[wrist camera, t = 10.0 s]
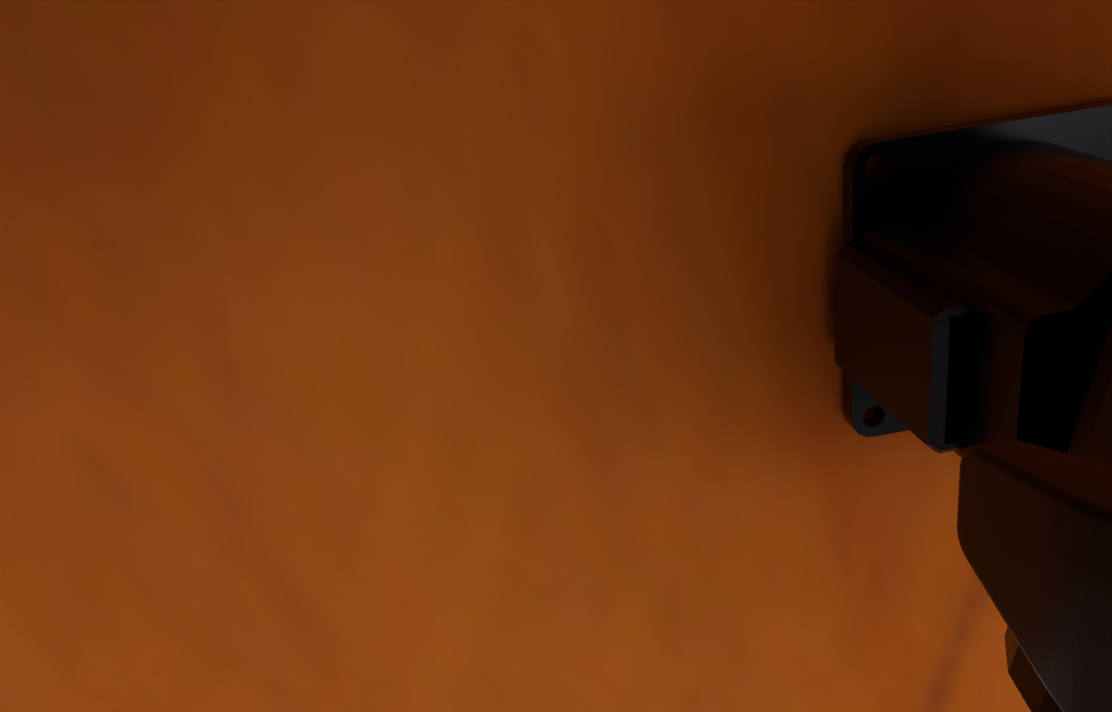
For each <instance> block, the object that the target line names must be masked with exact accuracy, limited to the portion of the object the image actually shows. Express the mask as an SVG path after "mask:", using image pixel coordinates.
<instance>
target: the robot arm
mask: <svg viewBox="0 0 1112 712" xmlns="http://www.w3.org/2000/svg"><path fill="white" fill-rule="evenodd" d="M875 155H878V156H879V160H880V163H879V167H878V169H877V170H876V171H875V172H874V174H871V175H869V176H866V174H865V170H864V169H865V165H866V162H867V161H868V160H869V159H870V157H872V156H875ZM835 361H836V364H837V365H838V366H839V367H840V368H841V369H843V370H844V414H845V418H846V421H847V422H848V423H849V424H850V426H851V427H852V428H853V429H854V430H855V431H856V432H857V433H858V434H860V435H863V436H865V437H874V436H879V435H885V434H890V433H895V432H900V431H905V430H910V431H911V432H912V433H914V434H915V435H916V436H917V437H918V438H919V439H920V440H921V441H922V442H924V443H925V444H926V445H927V446H929V447H930V448H931V449H932V450H934V451H935V452H937V453H944V452H949V451H955V452H956V453H957V454H958V455H959V456H960V457H962V459H961V464H960V476H959V496H958V515H957V532H958V539H959V542H960V546H961V548H962V551H963V553H964V555H965V557H966V559H967V560H968V562H969V564H970V565H971V567H972V568H973V570H974V572H975V573H976V575H977V577H978V578H979V580H980V582H981V583H982V585H983V586H984V588H985V590H986V591H987V593H988V595H989V596H990V598H991V600H992V601H993V603H994V605H995V606H996V608H997V609H998V611H999V613H1000V614H1001V616H1002V618H1003V619H1004V621H1005V623H1006V624H1007V626H1008V627H1007V630H1006V633H1005V645H1006V655H1007V665H1008V673H1009V675H1010V676H1011V678H1012V680H1013V681H1014V683H1015V685H1016V687H1017V688H1018V690H1019V692H1020V693H1021V695H1022V697H1023V698H1024V700H1025V702H1026V703H1027V705H1028V707H1029V708H1030V710H1031V712H1112V100H1110V101H1104V102H1098V103H1091V104H1085V105H1078V106H1072V107H1066V108H1059V109H1053V110H1046V111H1040V112H1034V113H1027V114H1021V115H1014V116H1008V117H1002V118H995V119H989V120H983V121H976V122H970V123H963V124H957V125H951V126H944V127H938V128H931V129H925V130H919V131H912V132H906V133H900V134H893V135H887V136H880V137H874V138H868V139H865V140H862V141H860V142H858V143H857V144H856V145H854V146H853V147H852V148H851V149H850V151H849V153H848V154H847V156H846V159H845V164H844V244H842V246H841V248H840V249H839V251H838V252H837V254H836V255H835ZM872 406H877V407H876V411H875V413H874V414H873V415H872V416H871V417H869V418H867V419H863V416H864V413H865V411H866V410H867V409H868V408H870V407H872Z"/></svg>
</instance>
